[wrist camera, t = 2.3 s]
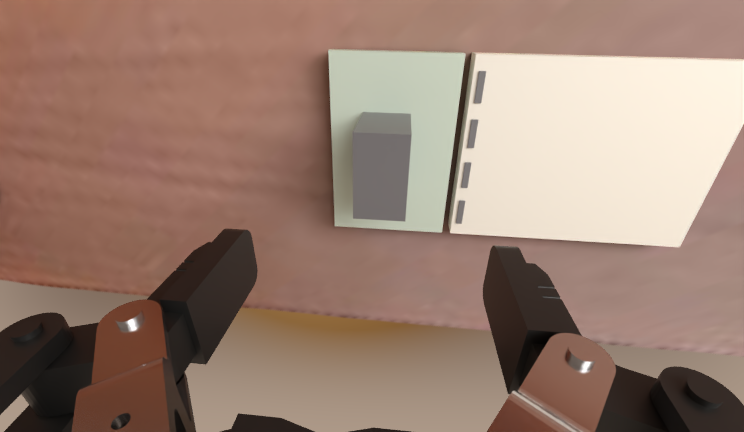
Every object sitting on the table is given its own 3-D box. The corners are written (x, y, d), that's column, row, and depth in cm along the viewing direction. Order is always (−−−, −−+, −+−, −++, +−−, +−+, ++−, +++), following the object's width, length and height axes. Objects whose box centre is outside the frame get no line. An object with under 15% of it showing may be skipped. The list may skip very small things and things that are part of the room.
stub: (462, 52, 21) (481, 60, 16) (440, 224, 27) (449, 274, 21) (332, 49, 22) (307, 55, 16) (337, 217, 27) (320, 265, 22)
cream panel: (752, 59, 20) (777, 61, 19) (665, 236, 26) (680, 247, 24) (471, 52, 21) (476, 53, 20) (447, 223, 27) (450, 233, 26)
